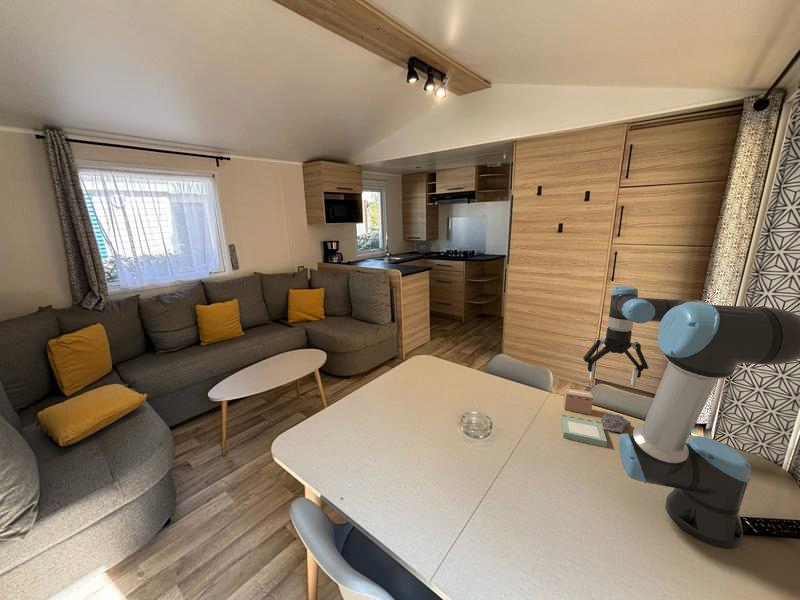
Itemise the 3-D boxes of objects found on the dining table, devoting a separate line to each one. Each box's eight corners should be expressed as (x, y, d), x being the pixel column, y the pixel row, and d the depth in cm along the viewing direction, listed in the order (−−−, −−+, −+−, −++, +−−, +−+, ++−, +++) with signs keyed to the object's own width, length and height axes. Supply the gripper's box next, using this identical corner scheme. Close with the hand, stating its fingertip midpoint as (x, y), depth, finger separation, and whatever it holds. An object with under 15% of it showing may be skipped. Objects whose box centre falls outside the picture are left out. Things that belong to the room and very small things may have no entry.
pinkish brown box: (590, 414, 133) (593, 397, 131) (564, 409, 136) (566, 393, 134) (588, 408, 137) (591, 391, 135) (563, 403, 141) (565, 387, 139)
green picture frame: (606, 447, 114) (607, 441, 113) (563, 437, 119) (563, 431, 118) (599, 427, 124) (600, 422, 124) (560, 419, 130) (561, 414, 129)
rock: (631, 427, 125) (633, 418, 124) (619, 437, 119) (620, 428, 118) (607, 416, 132) (608, 407, 131) (594, 425, 126) (596, 416, 125)
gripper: (657, 329, 113) (648, 383, 117) (579, 322, 122) (573, 373, 126) (665, 335, 106) (655, 392, 110) (582, 327, 115) (576, 381, 119)
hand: (611, 382), depth 118 cm, fingers open, 13 cm apart
